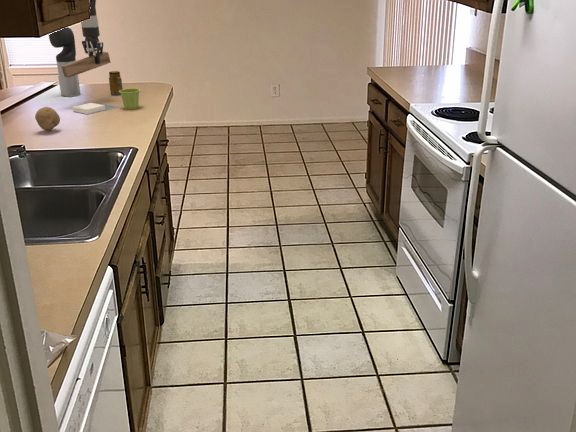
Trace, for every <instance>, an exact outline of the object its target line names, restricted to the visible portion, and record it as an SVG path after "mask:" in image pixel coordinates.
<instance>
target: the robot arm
mask: <svg viewBox="0 0 576 432" xmlns="http://www.w3.org/2000/svg"><path fill="white" fill-rule="evenodd" d="M96 4H97V0H90V7H91V9H90V19H88V20H85V21H83V22H81V21H80V24H81V31H82V36H83V38H85V39H84V40H82V41H81V45H82V47H83V50H84V53H85V54H87V55H88V57H89V56H92V55H95V56H94V57H95V63H96V64H100V55H102V53H103V52H104V50H103V49H104V42H103V41H102V42H101V41H100V40H99V37H100V33H101V32H100V27H99V20H98V16H97V9H96ZM66 27H67V28H64V29H62V30H60V31H57V32H54V33H52V34H50V35H49V34H48V40H49V42H50V43H49V44H51V46H52V47H53V48H57V49H58V48H62V50H61V51H60V52H59V53H58V54H56V56H55V61H56V66H57V73H58V76H57V77H58V85H59V90H60V95H61V96H63V97H75V96H76V97H77V96H81V93H82V92H81V87H80V78H79V74H78V75H75V76H72V77H69V78H68V77H64V74H63V70H62V67H61V66H63V65H66V64H69V63H72V62H75V61H77V59H76V56H77V50H76V41H75V40H76V39H75V34H74V32H73V30H72V29H71V28H70V27H69V26H66Z"/></svg>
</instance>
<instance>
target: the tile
mask: <svg viewBox="0 0 576 432" xmlns="http://www.w3.org/2000/svg"><path fill="white" fill-rule="evenodd" d="M100 104H101V103H94V102H88V103H84V104H79V105H73V106H72V111H73V112H75V113H76V112H77V113H79V114H84V115H89V114H90V115H91V114H92V113H93V114H95V113H94V112H98V111H102V110H105V105H100ZM102 112H103V111H102ZM98 113H99V112H98Z"/></svg>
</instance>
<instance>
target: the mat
mask: <svg viewBox="0 0 576 432" xmlns="http://www.w3.org/2000/svg"><path fill="white" fill-rule="evenodd" d="M99 104H100V105H105V110H102V111H98V112H94V113H91V114H97V113H102V112H105V111H111V110H115V109H119V108H120V106H116V105H111V104H106V103H102V102H101V103H99Z"/></svg>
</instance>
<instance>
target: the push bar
mask: <svg viewBox="0 0 576 432" xmlns="http://www.w3.org/2000/svg"><path fill="white" fill-rule="evenodd" d="M94 56H95V55H94V54H93V55H92V56H89V55H88V56H87V57H83V58H81V59H78V60H76V61H75V62H72V63H69V64H66V65H63V66H61V67H62V70H63V74H64V77H68V78H69V77H72V76H75V75H78V76H79V75H80V74H83V73H86V72H88V71H91V70H95V69H97V68H100V67H102V66H106V65H108V64H111V59H110V55H109V52H108V51H103V53H102V55H100V64H96V63H95V57H94Z"/></svg>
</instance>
